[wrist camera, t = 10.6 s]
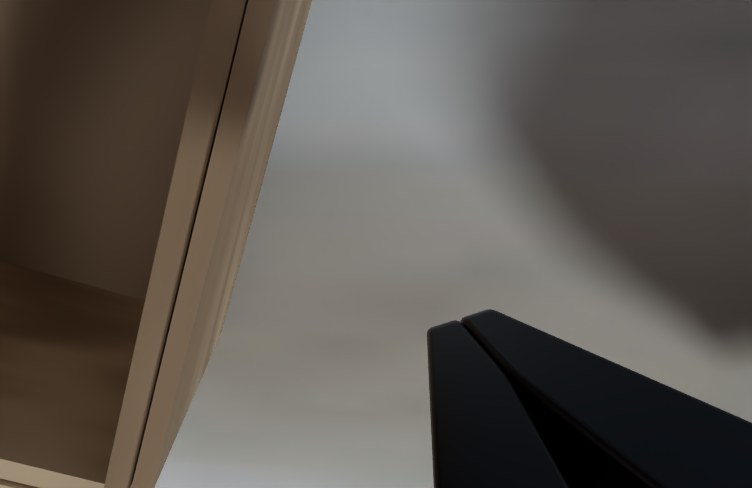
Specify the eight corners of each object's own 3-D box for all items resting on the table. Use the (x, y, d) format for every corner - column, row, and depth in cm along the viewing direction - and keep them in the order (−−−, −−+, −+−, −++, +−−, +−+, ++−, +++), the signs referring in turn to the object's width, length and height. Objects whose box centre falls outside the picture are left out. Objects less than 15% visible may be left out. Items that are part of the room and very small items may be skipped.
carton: (349, -125, 16) (331, -218, 9) (221, 338, 21) (140, 532, 14) (-128, -301, 15) (-624, -587, 8) (-149, 237, 20) (-465, 390, 12)
